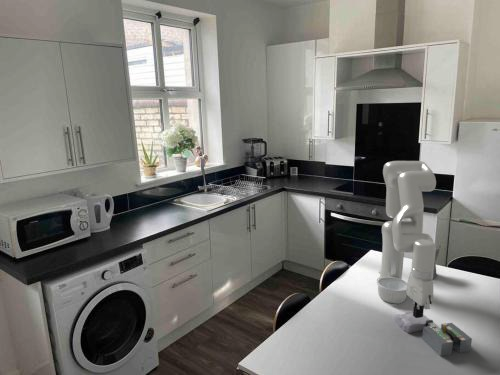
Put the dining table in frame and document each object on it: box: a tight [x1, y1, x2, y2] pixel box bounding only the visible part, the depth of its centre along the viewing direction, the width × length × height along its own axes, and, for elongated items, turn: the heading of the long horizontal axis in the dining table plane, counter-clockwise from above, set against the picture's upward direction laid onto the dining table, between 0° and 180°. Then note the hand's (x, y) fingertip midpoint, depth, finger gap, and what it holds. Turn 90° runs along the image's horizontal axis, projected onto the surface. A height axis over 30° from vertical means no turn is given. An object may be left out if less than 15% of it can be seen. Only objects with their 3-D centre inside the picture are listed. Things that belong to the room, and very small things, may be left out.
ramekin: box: [376, 277, 408, 304], centre depth 171 cm, size 13×13×7 cm
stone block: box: [394, 311, 430, 334], centre depth 151 cm, size 12×5×10 cm
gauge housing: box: [421, 322, 473, 357], centre depth 138 cm, size 10×12×5 cm
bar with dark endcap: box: [426, 319, 451, 340], centre depth 142 cm, size 11×2×6 cm, turn 12°
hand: (417, 316), depth 147 cm, fingers closed
